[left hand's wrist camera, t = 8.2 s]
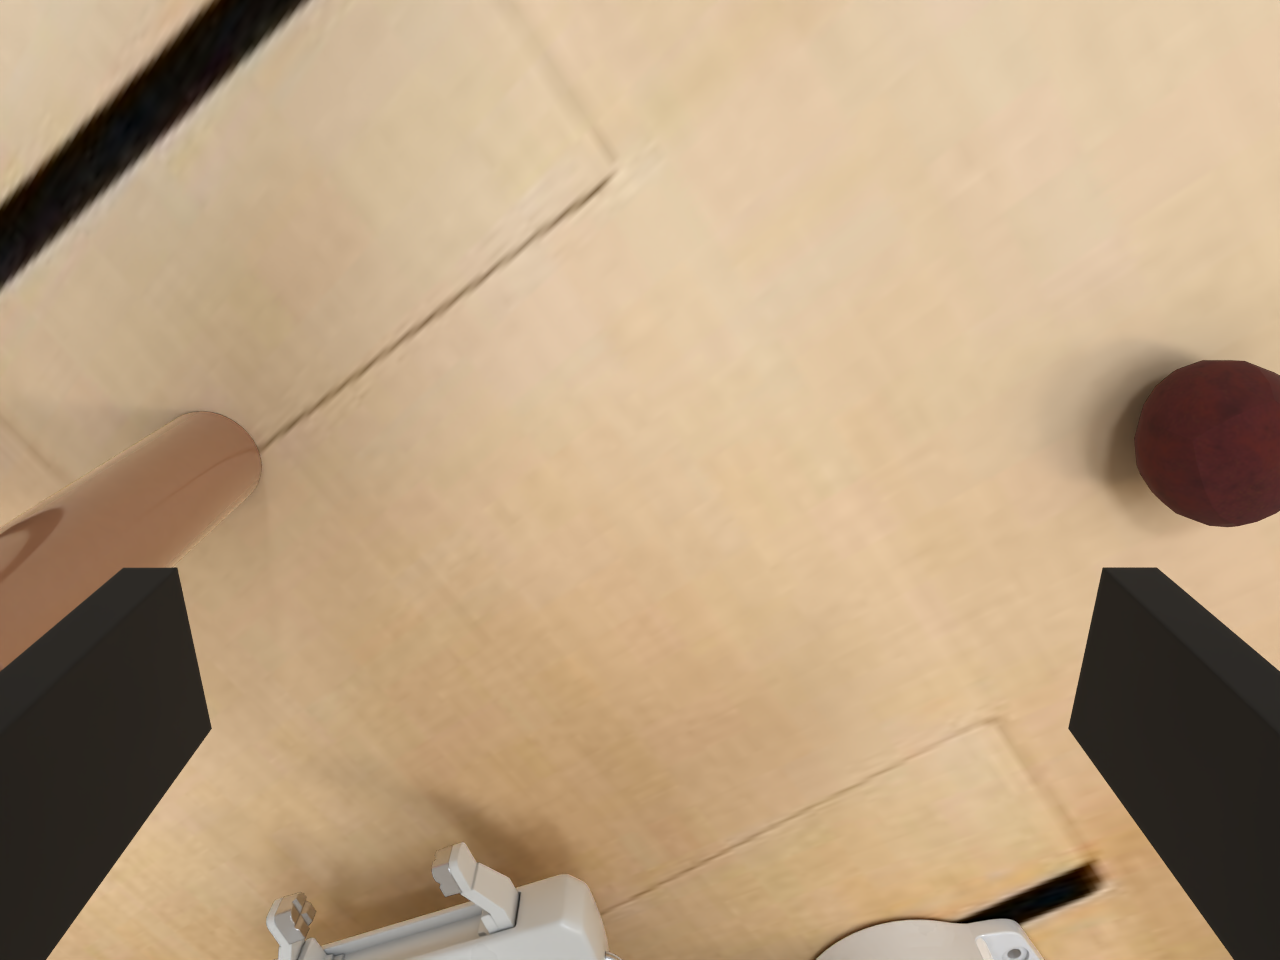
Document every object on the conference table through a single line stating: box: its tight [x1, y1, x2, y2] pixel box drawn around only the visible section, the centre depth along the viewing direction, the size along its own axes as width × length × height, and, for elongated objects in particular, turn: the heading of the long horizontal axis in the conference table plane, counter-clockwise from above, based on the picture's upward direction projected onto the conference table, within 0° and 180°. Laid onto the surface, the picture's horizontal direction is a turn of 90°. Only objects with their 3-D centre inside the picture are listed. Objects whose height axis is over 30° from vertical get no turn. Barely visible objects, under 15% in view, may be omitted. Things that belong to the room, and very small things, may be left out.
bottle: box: [0, 412, 261, 671], centre depth 34 cm, size 5×5×25 cm
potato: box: [1134, 360, 1280, 527], centre depth 41 cm, size 7×8×7 cm
